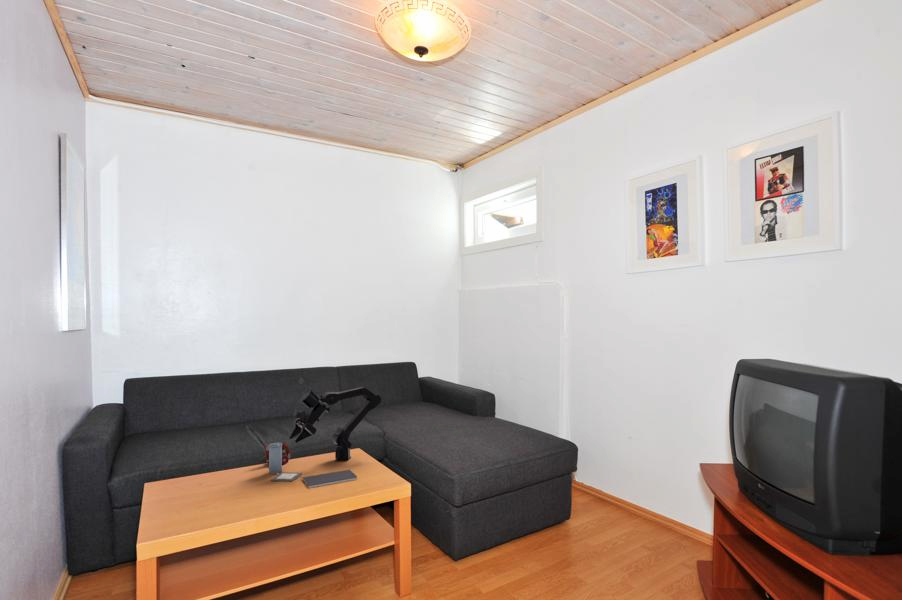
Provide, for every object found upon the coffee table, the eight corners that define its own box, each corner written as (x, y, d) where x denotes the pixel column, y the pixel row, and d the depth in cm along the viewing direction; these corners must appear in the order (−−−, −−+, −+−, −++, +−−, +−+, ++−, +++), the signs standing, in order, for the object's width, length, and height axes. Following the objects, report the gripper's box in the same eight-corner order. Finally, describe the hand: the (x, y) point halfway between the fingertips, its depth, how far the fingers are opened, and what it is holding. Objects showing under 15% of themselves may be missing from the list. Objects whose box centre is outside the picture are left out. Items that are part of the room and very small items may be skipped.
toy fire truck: (292, 462, 231) (292, 441, 232) (266, 467, 224) (266, 445, 225) (288, 459, 237) (288, 439, 238) (263, 464, 230) (263, 443, 231)
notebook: (349, 472, 215) (302, 480, 205) (349, 469, 215) (302, 477, 205) (357, 480, 204) (308, 489, 194) (357, 476, 204) (308, 485, 194)
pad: (302, 474, 213) (302, 472, 213) (292, 481, 203) (292, 479, 203) (281, 473, 214) (281, 472, 214) (270, 481, 204) (270, 479, 204)
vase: (284, 470, 219) (284, 442, 220) (278, 474, 213) (278, 445, 214) (272, 470, 220) (272, 442, 220) (266, 474, 214) (266, 445, 214)
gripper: (298, 401, 233) (275, 426, 226) (309, 406, 218) (285, 433, 211) (313, 415, 237) (291, 440, 230) (326, 420, 222) (303, 448, 215)
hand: (292, 440), depth 222 cm, fingers open, 9 cm apart
